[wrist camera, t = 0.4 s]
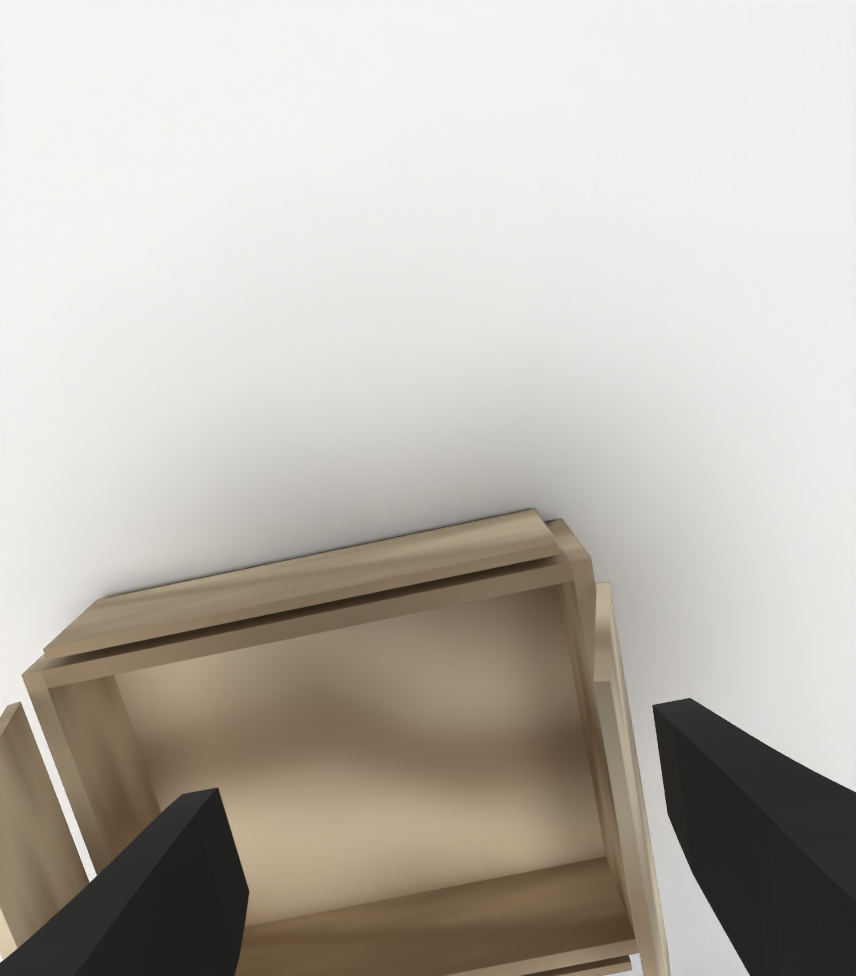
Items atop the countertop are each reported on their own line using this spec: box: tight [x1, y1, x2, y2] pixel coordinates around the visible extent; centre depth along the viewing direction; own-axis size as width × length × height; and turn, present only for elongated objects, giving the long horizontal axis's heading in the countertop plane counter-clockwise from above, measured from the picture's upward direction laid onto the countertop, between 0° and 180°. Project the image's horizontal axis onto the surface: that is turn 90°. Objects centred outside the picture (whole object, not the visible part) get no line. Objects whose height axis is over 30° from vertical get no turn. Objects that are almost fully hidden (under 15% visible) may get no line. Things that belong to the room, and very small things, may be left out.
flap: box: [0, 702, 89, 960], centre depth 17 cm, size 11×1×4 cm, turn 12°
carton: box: [22, 509, 640, 976], centre depth 21 cm, size 13×15×4 cm
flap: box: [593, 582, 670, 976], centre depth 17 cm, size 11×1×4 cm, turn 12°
